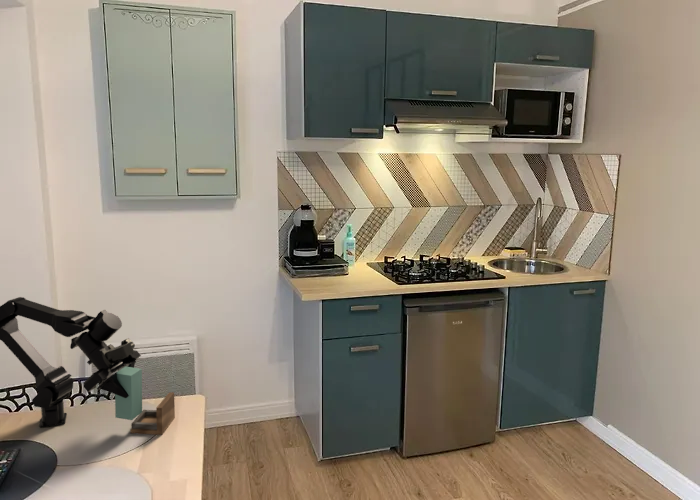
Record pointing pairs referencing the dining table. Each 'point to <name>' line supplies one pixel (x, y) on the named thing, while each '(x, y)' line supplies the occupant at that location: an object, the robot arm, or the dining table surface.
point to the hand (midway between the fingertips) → (133, 393)
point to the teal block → (129, 393)
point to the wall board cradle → (155, 418)
